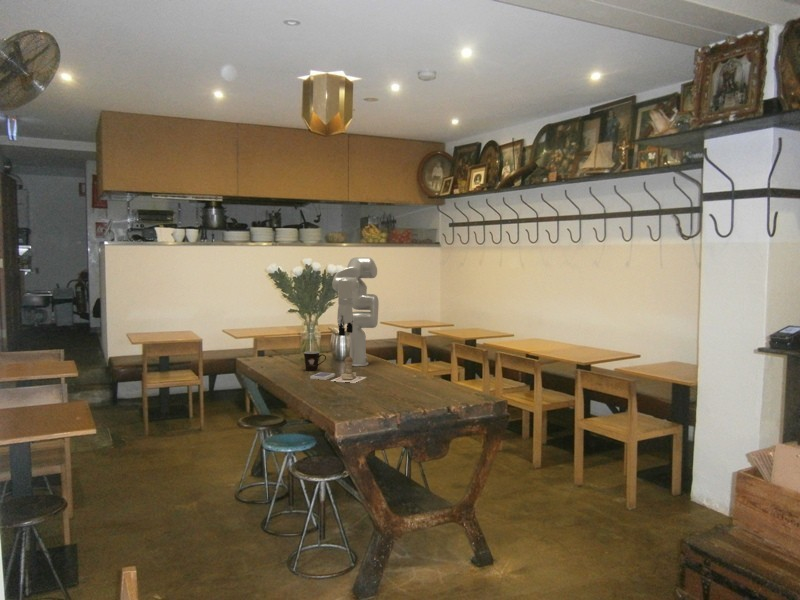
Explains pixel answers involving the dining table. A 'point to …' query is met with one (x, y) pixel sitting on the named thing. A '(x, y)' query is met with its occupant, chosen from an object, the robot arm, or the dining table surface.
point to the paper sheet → (349, 380)
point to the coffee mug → (312, 360)
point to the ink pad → (322, 376)
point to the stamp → (348, 370)
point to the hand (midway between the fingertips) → (345, 333)
